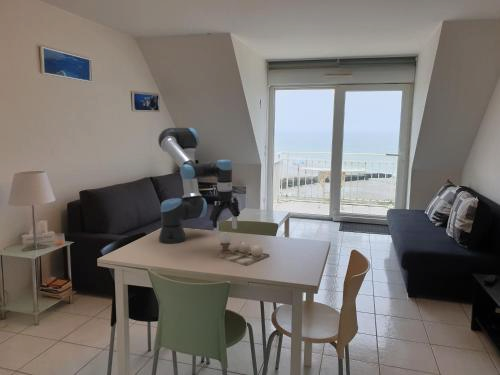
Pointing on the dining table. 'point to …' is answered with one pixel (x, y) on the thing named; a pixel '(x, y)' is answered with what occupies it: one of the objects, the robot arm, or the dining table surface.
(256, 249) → the cream white ball
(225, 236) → the white ball
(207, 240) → the dining table surface
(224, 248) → the stand
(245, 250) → the pale beige ball
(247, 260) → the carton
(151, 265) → the dining table surface
